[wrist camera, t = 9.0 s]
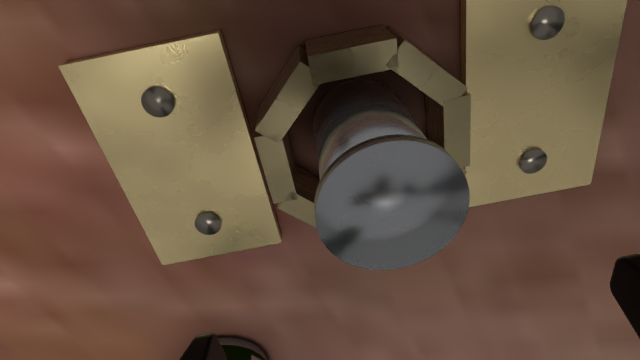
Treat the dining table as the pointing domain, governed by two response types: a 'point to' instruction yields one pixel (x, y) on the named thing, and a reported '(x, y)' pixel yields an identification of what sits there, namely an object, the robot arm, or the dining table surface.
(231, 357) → the beer can
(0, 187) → the dining table surface
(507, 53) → the octagon ring with plates
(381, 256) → the steel pin
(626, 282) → the robot arm
